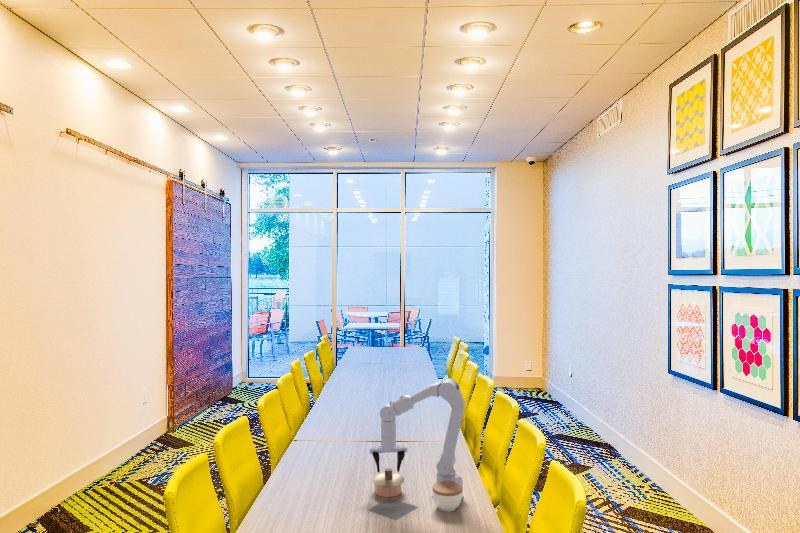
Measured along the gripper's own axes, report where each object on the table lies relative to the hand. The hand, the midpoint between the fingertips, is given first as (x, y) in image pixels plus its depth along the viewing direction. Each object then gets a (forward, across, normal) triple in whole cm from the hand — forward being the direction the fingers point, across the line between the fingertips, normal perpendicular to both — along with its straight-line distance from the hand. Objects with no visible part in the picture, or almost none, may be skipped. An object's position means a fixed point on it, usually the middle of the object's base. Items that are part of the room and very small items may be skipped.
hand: (388, 471), depth 215 cm
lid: (+3, 0, 0) cm, 4 cm away
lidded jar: (+8, -20, +17) cm, 27 cm away
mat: (+8, 0, +16) cm, 18 cm away
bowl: (+8, 0, 0) cm, 8 cm away
